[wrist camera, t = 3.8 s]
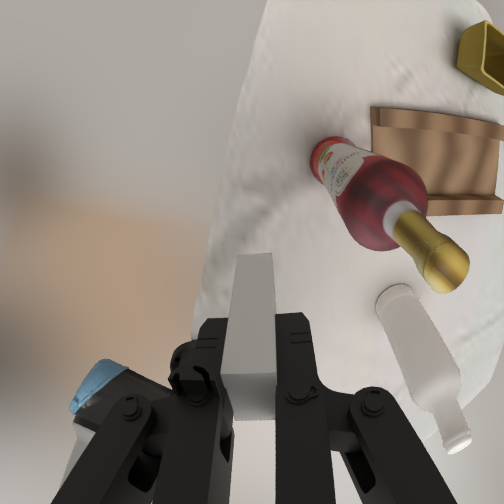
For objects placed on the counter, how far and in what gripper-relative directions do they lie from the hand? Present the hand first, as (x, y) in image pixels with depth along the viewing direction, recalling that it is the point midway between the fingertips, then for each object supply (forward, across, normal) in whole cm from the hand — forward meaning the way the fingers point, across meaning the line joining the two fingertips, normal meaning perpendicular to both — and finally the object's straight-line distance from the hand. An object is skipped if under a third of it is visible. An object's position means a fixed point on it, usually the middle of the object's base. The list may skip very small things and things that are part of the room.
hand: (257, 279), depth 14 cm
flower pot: (+28, +34, +17) cm, 47 cm away
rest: (+27, +28, 0) cm, 39 cm away
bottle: (+28, +22, -25) cm, 43 cm away
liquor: (+28, +10, 0) cm, 29 cm away
